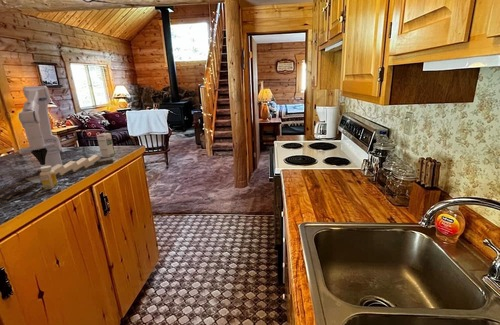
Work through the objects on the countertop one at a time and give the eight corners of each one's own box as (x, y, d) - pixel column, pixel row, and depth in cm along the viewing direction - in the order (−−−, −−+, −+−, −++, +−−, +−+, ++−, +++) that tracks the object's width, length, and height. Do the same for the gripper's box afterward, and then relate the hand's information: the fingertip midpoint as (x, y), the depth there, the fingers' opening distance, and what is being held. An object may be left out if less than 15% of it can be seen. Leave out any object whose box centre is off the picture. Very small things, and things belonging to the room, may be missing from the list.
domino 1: (44, 176, 127) (62, 165, 133) (40, 174, 130) (58, 163, 136) (47, 179, 128) (65, 168, 134) (43, 177, 131) (60, 166, 137)
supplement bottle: (45, 190, 115) (39, 169, 113) (42, 187, 119) (36, 167, 116) (60, 186, 119) (54, 166, 117) (56, 184, 123) (50, 164, 120)
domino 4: (83, 165, 142) (98, 155, 147) (79, 164, 144) (93, 154, 150) (86, 168, 143) (100, 158, 148) (81, 167, 145) (95, 157, 151)
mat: (25, 179, 130) (24, 178, 130) (93, 161, 156) (93, 160, 156) (35, 184, 124) (34, 183, 124) (104, 164, 150) (104, 163, 150)
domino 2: (59, 172, 132) (75, 161, 138) (54, 170, 135) (71, 160, 140) (61, 175, 133) (77, 164, 139) (56, 173, 136) (73, 163, 142)
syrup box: (109, 157, 163) (104, 134, 159) (101, 157, 165) (96, 134, 160) (115, 155, 169) (111, 132, 164) (107, 155, 170) (102, 132, 166)
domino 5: (94, 162, 146) (112, 159, 151) (93, 160, 150) (111, 157, 155) (95, 165, 146) (113, 162, 151) (94, 163, 150) (111, 160, 155)
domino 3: (71, 168, 137) (87, 158, 142) (67, 167, 139) (82, 157, 145) (74, 171, 138) (89, 161, 144) (69, 170, 141) (84, 160, 146)
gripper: (18, 140, 116) (28, 170, 120) (56, 134, 128) (63, 161, 132) (13, 139, 120) (22, 168, 124) (49, 133, 131) (56, 159, 135)
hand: (42, 164), depth 128 cm, fingers closed
